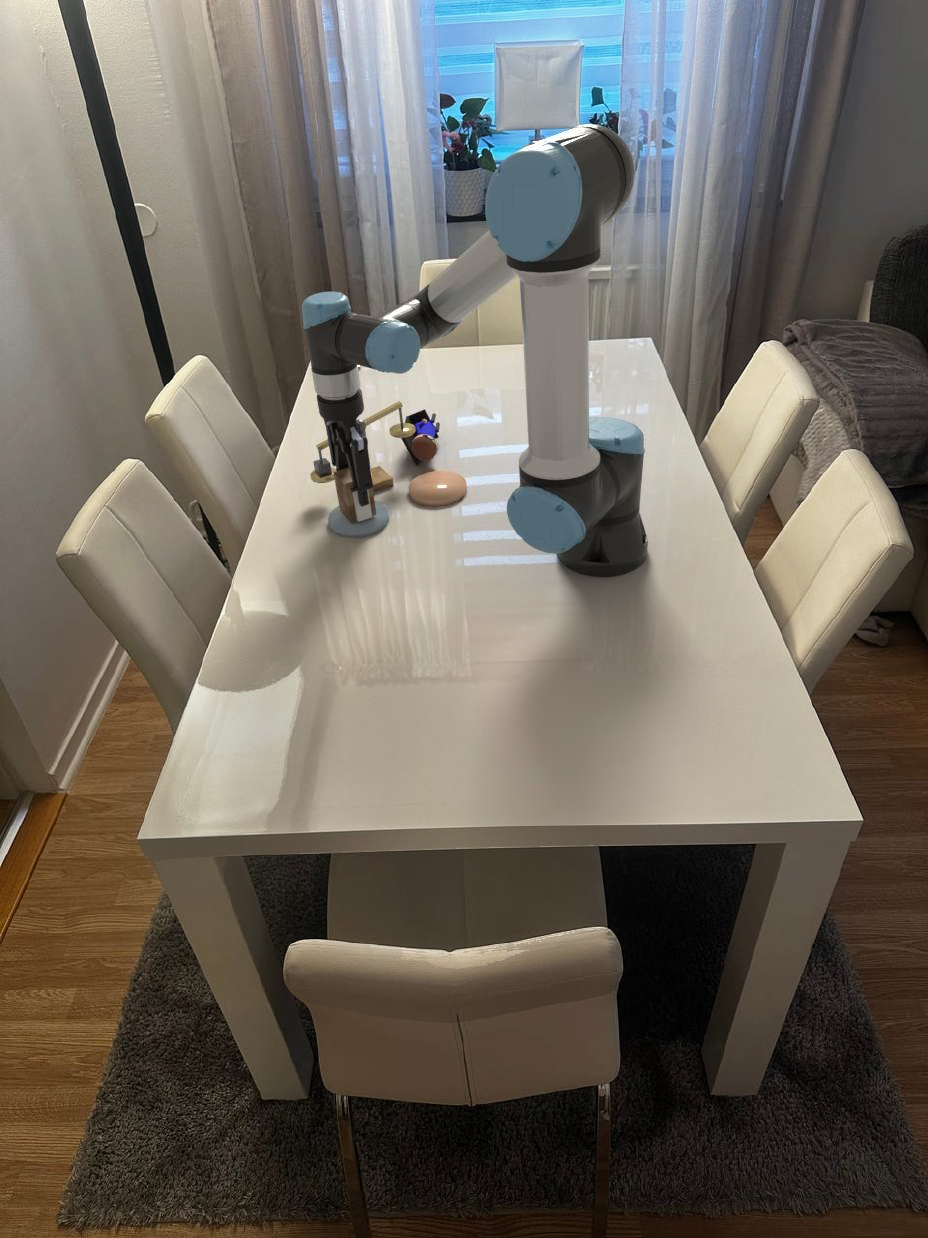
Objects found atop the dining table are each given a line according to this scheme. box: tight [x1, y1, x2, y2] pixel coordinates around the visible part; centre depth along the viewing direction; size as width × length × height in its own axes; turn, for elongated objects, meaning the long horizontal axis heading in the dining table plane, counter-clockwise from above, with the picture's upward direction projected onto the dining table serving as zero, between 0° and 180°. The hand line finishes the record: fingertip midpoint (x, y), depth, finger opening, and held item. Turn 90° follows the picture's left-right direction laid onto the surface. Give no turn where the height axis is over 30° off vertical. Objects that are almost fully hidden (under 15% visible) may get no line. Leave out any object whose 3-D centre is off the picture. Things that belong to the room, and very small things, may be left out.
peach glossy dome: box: [408, 470, 468, 507], centre depth 169 cm, size 11×11×1 cm
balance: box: [309, 401, 416, 493], centre depth 168 cm, size 6×22×15 cm, turn 120°
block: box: [333, 468, 376, 523], centre depth 159 cm, size 5×5×8 cm
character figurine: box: [400, 409, 441, 467], centre depth 180 cm, size 8×7×15 cm
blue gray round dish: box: [327, 500, 390, 539], centre depth 162 cm, size 11×11×1 cm
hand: (357, 511), depth 161 cm, fingers closed on block, 5 cm apart
